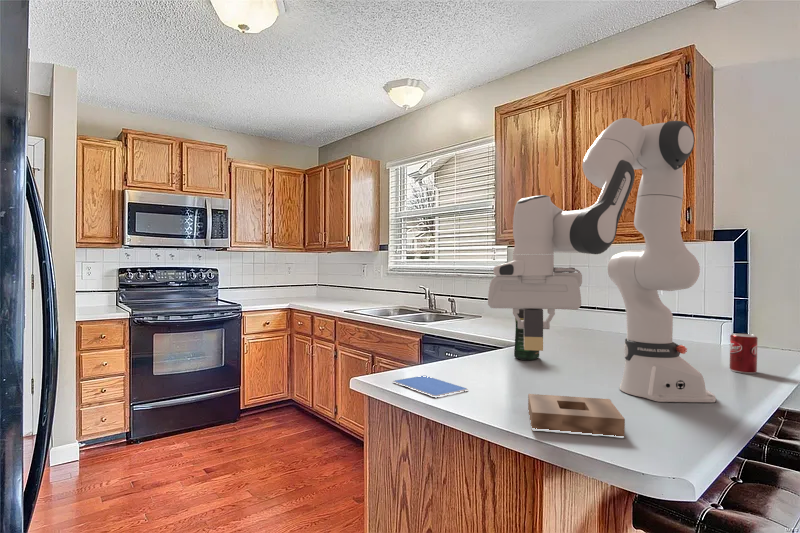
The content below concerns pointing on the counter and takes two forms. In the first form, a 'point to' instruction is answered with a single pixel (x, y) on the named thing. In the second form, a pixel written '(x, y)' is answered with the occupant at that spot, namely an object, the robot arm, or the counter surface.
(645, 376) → the robot arm
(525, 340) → the plug
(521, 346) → the coffee jar
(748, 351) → the soda can
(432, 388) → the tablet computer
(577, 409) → the socket
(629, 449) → the counter surface
